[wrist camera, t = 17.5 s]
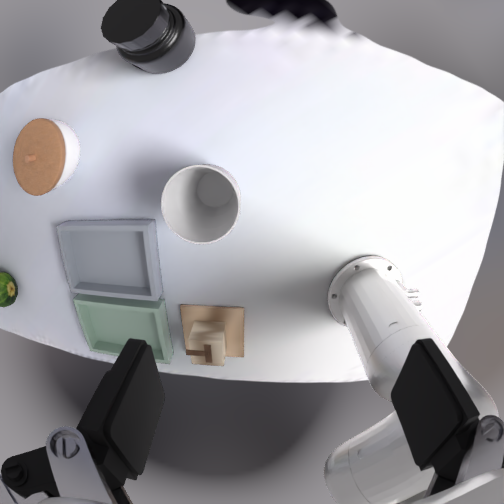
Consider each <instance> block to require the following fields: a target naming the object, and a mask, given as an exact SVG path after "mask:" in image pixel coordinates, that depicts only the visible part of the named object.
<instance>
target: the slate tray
mask: <svg viewBox="0 0 504 504" xmlns="http://www.w3.org/2000/svg"><path fill="white" fill-rule="evenodd" d="M56 228H57V233H58V239H59V244H60V249H61V254H62V259H63V263H64V267H65V272H66V276H67V280H68V283H69V287H70V291H71V292H73V293H81V294H89V295H98V296H107V297H116V298H126V299H137V300H149V301H158V299H159V298H160V296H161V294H162V293H163V286H162V279H161V271H160V262H159V253H158V244H157V233H156V222H155V219H140V220H80V221H66V222H64V223H62V224H60V225H58V226H56Z"/></svg>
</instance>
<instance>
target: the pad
mask: <svg viewBox="0 0 504 504" xmlns="http://www.w3.org/2000/svg"><path fill="white" fill-rule="evenodd" d="M180 311H181V318H182V326H183V333H184V339H185V346H186V349H188V350H190V349H189V342H188V339H189V336H190V333H191V330H192V327H193V324H194V321H195V320H197V321H215V322H226V339H227V348H226V355H225V356H228V357H244V308H241V307H218V306H199V305H183V304H181V305H180Z"/></svg>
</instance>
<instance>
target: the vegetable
mask: <svg viewBox="0 0 504 504" xmlns="http://www.w3.org/2000/svg"><path fill="white" fill-rule="evenodd" d="M17 295H18V288H17V284H16V282H15V280H14V278H12V277H11V276H10V275H9V274H8V273H5V272H1V273H0V307H6V306H9V305H11V304H13V303H14V302H15V300H16V297H17Z"/></svg>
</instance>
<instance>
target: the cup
mask: <svg viewBox="0 0 504 504" xmlns="http://www.w3.org/2000/svg"><path fill="white" fill-rule="evenodd" d="M240 205H241V193H240V189H239V186H238V184H237V182H236V180H235V179H234V177H233V176H232V175H231V174H230V173H229V172H228V171H226V170H225V169H223V168H221V167H219V166H216V165H210V164H204V165H194V166H189V167H186V168H183V169H181V170H180V171H178V172H177V173H175V174H174V175H173V176H172V177H171V178H170V179H169V181H168V182H167V184H166V185H165V188H164V190H163V193H162V198H161V209H162V214H163V217H164V220H165V222H166V224H167V225H168V227H169V228H170V229H171V231H172V232H173V233H174V234H176V235H177V236H178V237H180V238H181V239H183V240H185V241H187V242H190V243H194V244H210V243H214V242H216V241H219V240H221V239H222V238H224V237H225V236H227V235H228V234H229V233H230V232H231V231H232V229H233V228H234V226H235V225H236V223H237V221H238V218H239V214H240Z"/></svg>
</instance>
